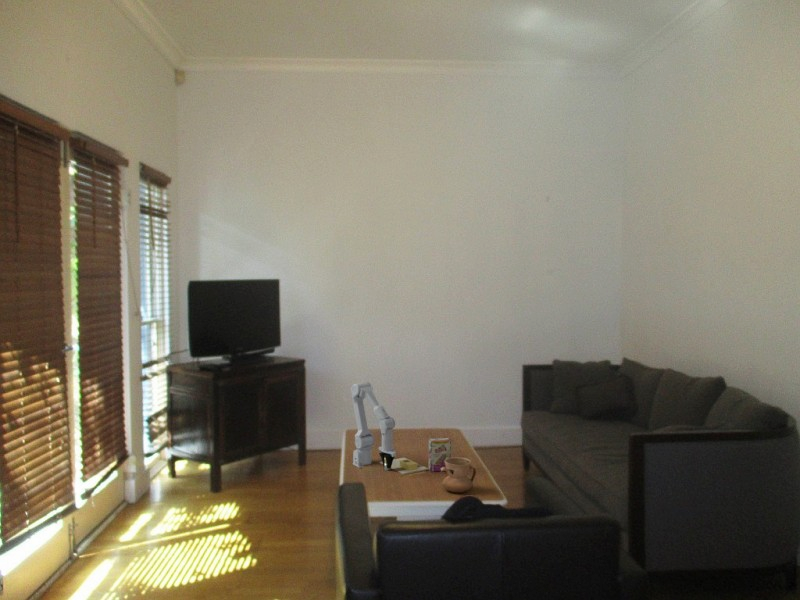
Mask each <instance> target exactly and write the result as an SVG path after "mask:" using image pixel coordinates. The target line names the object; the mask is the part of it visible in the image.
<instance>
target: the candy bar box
mask: <svg viewBox="0 0 800 600" xmlns="http://www.w3.org/2000/svg"><path fill="white" fill-rule="evenodd" d="M448 458H452V440H451V439H450V438H449V437H443V438H428V462H427V463H428V466H427V468H428V471H429V473H437V472H442V471H441V468H442V467H445V468H446V465H445V460H446V459H448Z"/></svg>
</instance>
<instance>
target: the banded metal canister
mask: <svg viewBox="0 0 800 600" xmlns="http://www.w3.org/2000/svg"><path fill="white" fill-rule="evenodd" d="M383 467H384V469H383V470H384V471H386V472H388V471H390V470H391V468H387V465H386V459H385V457H384V466H383Z"/></svg>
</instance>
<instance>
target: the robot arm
mask: <svg viewBox="0 0 800 600" xmlns="http://www.w3.org/2000/svg"><path fill="white" fill-rule="evenodd" d="M373 388H374V387H373V386H372V384H371V383H370V382H369V381H365V382H359V383H354V384H352V386H351V387H350V392H351V393H350V394H351V399H352V406H353V411H354V417H355V421H356V422H355V423H356V427H357V432H356V433H355V434H354V445H355V447H356V449H354V450H353V453H352V461H353V462H352V465H353V466H355V467H357V468H362V466H368V465H371V464H372V457H373V456H372V449H373V446H374V445H375V438H374V435H373V432H372V431H371V430H370V429H369V427H368V421H367V416H366V411H365V406H364V405H365V404H364V399H366V400H367V402H368V403H369V404H370V406H371V407H372V408H373V414H374V416H375V417H376V419H377V421H378V426H379V428H380V433H381V446H378V451H379V453H378V454H379V456H380V459H381V462H383V464H382V465H383V467H384V457H385V459H386V465H387V468H390V469H392V468H391V466H392V462H393V460H394V459H396V458H395V457H397V452H396V451H395V448H394V447H393V445H394V441H393V437H394V436H393V435H394V433H393V432H394V431H393V429H394V428H395V426H396V421H395V418H393V417H391V416H390V415H388V412H387V411H386V409H385V408H384V406H383V405H380V404H379V402H378V400H377V398H376V396H375V394H374V393H373V391H374V390H373ZM380 451H381V452H380Z"/></svg>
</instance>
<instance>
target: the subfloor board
mask: <svg viewBox="0 0 800 600" xmlns="http://www.w3.org/2000/svg"><path fill="white" fill-rule="evenodd" d="M407 459H408V458H406V457H400V458H394V459H393V462H392V466H391V468H390V469H392V470H394V471H396V472H398V473H400V474H402V475H401V476H403V477H404V476H407V475H414V474H419V473H424V472H427V471H429V468H428V467H426V466H424V465H422V464H419V463H417V469H415V470H410V471H408V470H406V469H404V468H402V467H400V461H401V460H407ZM409 460H410V459H409ZM410 461H412V460H410ZM378 463H380V464H381V465H383V462H382V461H380V462H379V461H378Z"/></svg>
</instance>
